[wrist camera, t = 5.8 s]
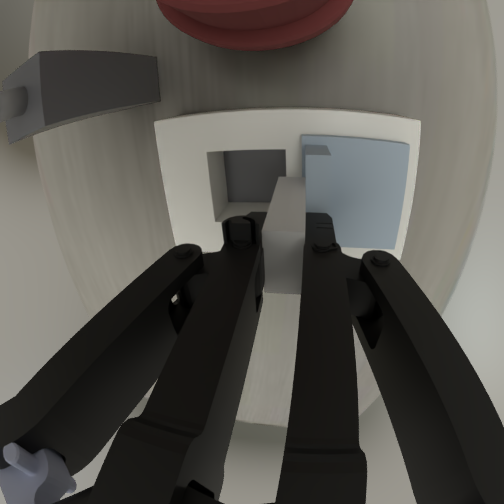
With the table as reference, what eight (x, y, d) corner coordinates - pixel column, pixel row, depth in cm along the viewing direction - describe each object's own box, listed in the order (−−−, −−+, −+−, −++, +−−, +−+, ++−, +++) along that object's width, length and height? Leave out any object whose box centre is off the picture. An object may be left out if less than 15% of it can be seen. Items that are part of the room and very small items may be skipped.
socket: (178, 115, 19) (153, 121, 16) (400, 115, 16) (421, 121, 13) (194, 227, 25) (176, 250, 21) (387, 234, 21) (400, 259, 18)
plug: (117, 69, 17) (-25, 88, 6) (156, 56, 17) (7, 55, 5) (121, 110, 20) (-17, 156, 8) (160, 101, 19) (13, 137, 7)
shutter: (301, 134, 15) (300, 144, 12) (405, 142, 14) (429, 155, 11) (301, 239, 18) (299, 270, 15) (391, 243, 17) (405, 274, 14)
